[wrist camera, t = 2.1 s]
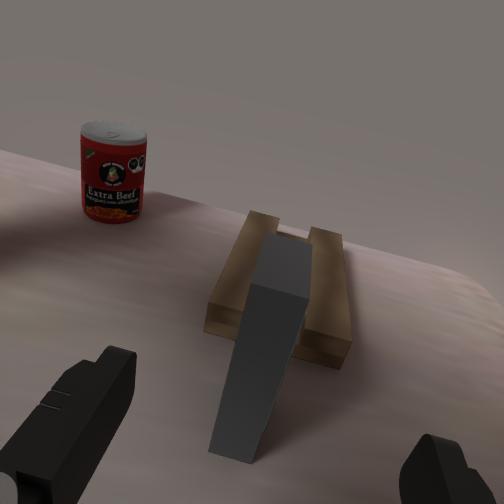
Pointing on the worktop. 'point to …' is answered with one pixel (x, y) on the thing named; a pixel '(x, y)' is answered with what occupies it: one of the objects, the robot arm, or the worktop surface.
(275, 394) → the grey rectangular block
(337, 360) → the brown grooved block
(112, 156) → the canned food
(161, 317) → the worktop surface
